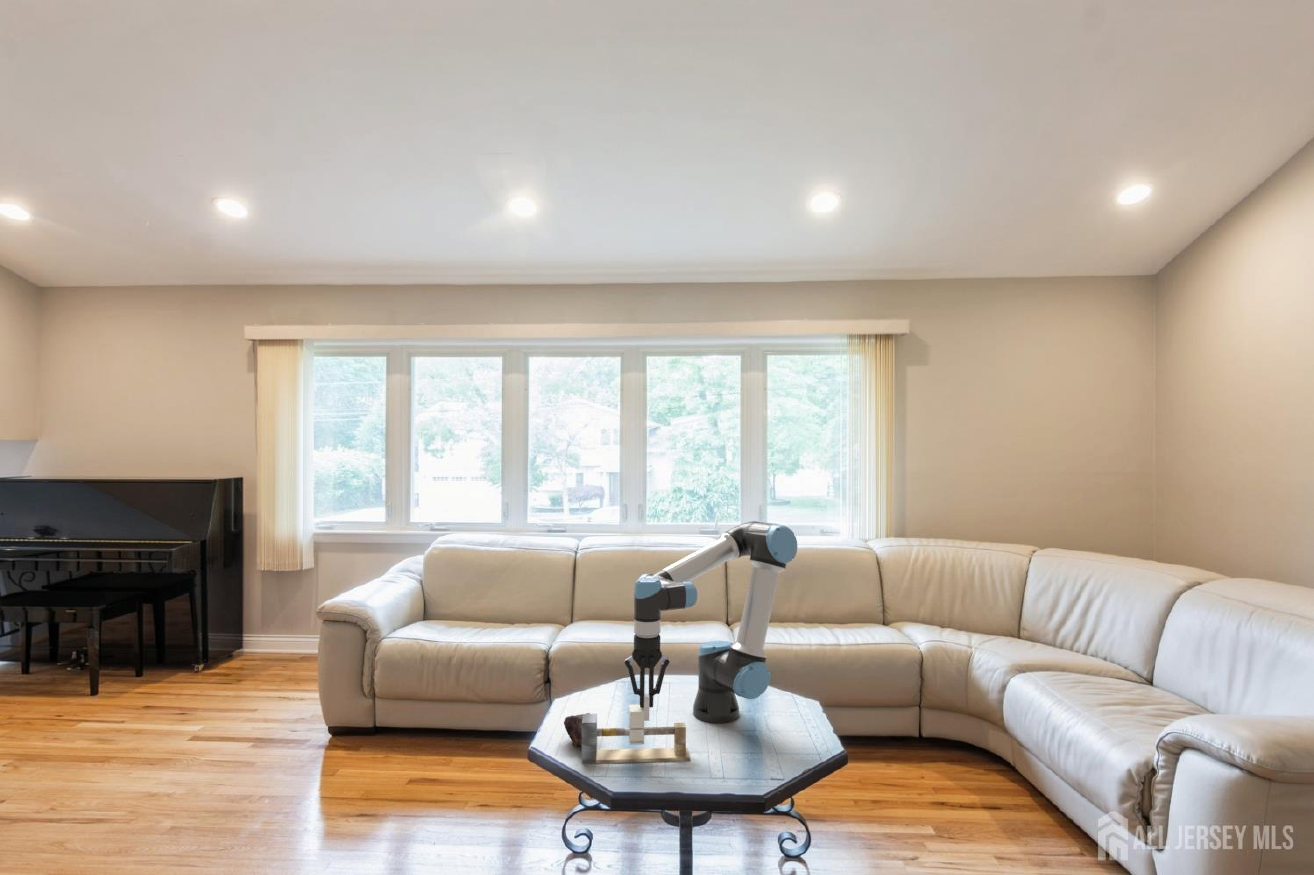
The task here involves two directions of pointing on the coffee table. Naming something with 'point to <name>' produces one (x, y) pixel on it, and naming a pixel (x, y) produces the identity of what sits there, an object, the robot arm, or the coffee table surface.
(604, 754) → the rail
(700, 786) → the coffee table surface
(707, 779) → the coffee table surface
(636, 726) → the sleeve
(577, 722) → the rock
